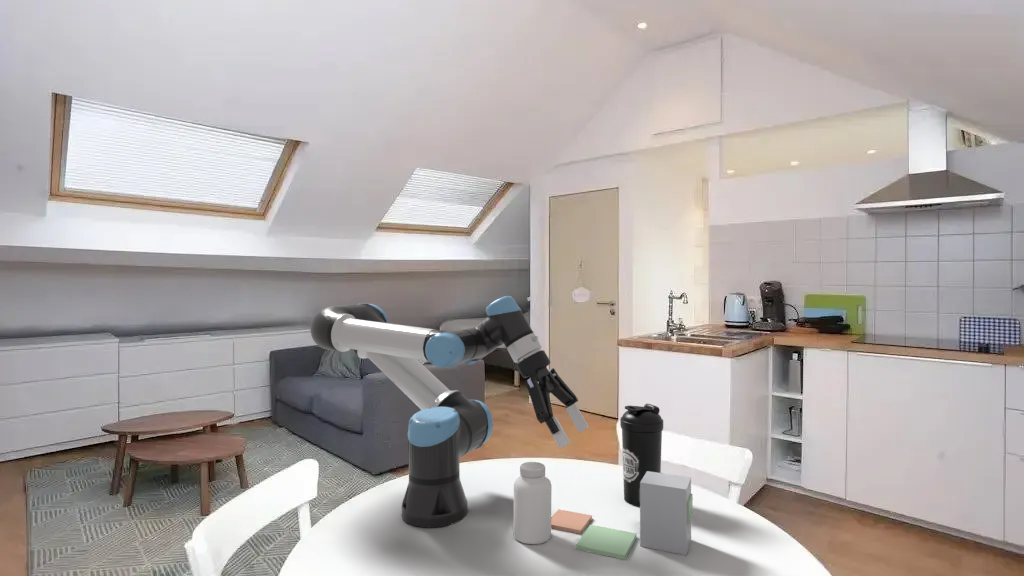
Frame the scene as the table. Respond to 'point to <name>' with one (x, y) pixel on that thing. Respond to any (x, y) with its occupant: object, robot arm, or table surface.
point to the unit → (665, 512)
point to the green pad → (606, 541)
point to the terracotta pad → (570, 521)
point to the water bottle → (640, 447)
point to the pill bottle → (532, 504)
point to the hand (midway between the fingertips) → (575, 437)
